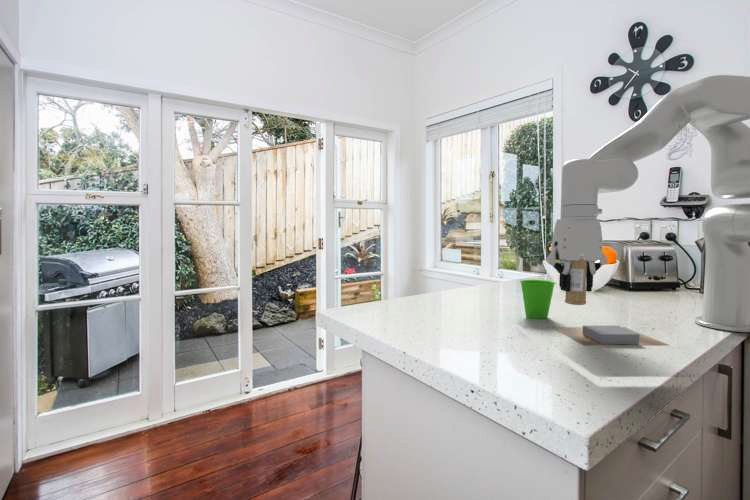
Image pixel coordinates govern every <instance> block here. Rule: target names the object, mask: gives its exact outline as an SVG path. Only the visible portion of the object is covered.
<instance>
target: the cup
mask: <svg viewBox="0 0 750 500" xmlns="http://www.w3.org/2000/svg"><path fill="white" fill-rule="evenodd" d="M519 283H520V284H521V290H522V291H521V292H522V297H523V298H522V299H523V304H524V312H525V313H524V314H525V317H526V318H527V319H528V318H529V319H535V320H546V319H548V317H549V312H550V307H551V302H552V298H553V297H552V296H553V291H554V287H555V285H556V282H555V281H552V280H545V279H521V280H520V281H519Z"/></svg>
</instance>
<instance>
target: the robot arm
mask: <svg viewBox="0 0 750 500" xmlns="http://www.w3.org/2000/svg"><path fill="white" fill-rule="evenodd" d="M748 120H750V76H746V75H745V76H744V75H734V74H733V75H732V74H731V75H730V74H718V75H717V74H715V75H710V76H707V77H704V78H700V79H698V80H696V81H693V82H690V83H687V84H685V85H682V86H679V87H677V88H675V89H673V90H671V91H668V92H667V93H666V94H665V95H664V96H663V97H662V98H660V99H659V101H657V102H656V103H655V105H653V107H651V108H650V110H648V111H647V112H646V113H645V114H644V115H643V116H642V117H641V118H640V119H639V120H638V121H637V122H636V123H635V124H634V125H633V126H631V127H629V128H628V129H627V130H625V131H624V132H622V133H621V134H619V135H618V136H617V137H614V139H612V140H610V141H608V143H606V144H605V145H602V147H600V148H599V149H597V151H595V152H594V153H592V155H590V157H588V158H579V159H577V158H576V159H572V160H571V159H570V160H568V161H566V162H564V163H563V164H562V167H561V185H560V186H561V187H560V189H561V193H560V194H561V195H560V215H559V216H560V218H559V219H556V220H555V224H554V229H553V233H552V239H551V240H552V241H551V250H550V252H549V254H548V255H547V257H546V258H545V262H546V263H548V265H549V264H550V265H551V266H552V267H553V268H554V269H555V270H556V271H557V273H558V274H559V284H558V285H559V287H560V288H559V289H560V290H561V291H564V292H565V293H566V292H569V291H570V277H571V276H570V275H569V274H568V271H569V268H570V264H571V262H575V261H578V260H580V259H583V260H584V261H586V262H587V276H586V278H587V288H586V292H589V293H590V292H592V290H593V289H592V288H593V287H594V286H593V285H594V276H595V275H596V274H597V272H598V270H599V269H601V267H602V266H604V265H605V264H607V263H608V262H609V258H608V257H607V256H606V254H605V252H604V251H603V234H602V226H601V221H600V219H598V215H601V214H602V213H603V209H602V208H599V206H598V198H599V197H598V196H599V194H605V193H606V194H607V193H614V192H615V193H616V192H620V191H625V190H627V189H629V188H631V187H633V185H634V184H635V183H636V182H637V180H638V177H639V169H638V166H637V165H636V164H635V163H634V162H637V161H640V160H642V159H645V158H647V157H649V156H651V155H653V154H656V153H657V152H659V151H662V150H663V149H664V148H665V147H666V146H667V145H668V144H669V143H670V142H671V141H672V140H673V139H674V138H675V137H677V135H678V134H679V133H680V132H681V131H682V130H683V129H684V128H686V127H687V125H690V126H691V127H692V128H694V129H695V130H697V131H698V132H699V133H701V134H702V135H703V136H704V138H705V139H706V140H707V142H708V144H709V147H710V156H711V157H710V158H711V159H710V189H711V192H712V194H713V195H714V196H715V197H716V198H718V199H722V200H736V199H738V200H739V199H740V200H741V199H750V126H748V125H747V124H745V123H744V121H748ZM701 222H702V223H701V228H702V233H703V239H704V243H705V261H704V262H705V264H704V265H705V266H704V280H703V281H704V283H703V300H702V316H701V315H700V316H696V317H695V318H694V323H695V324H697V325H700V326H703V327H706V328H710V329H715V330H721V331H729V332H737V333H738V332H739V333H750V245H749V244H748V243H750V203H735V204H734V203H733V204H732V203H731V204H723V205H719V206H715V207H713V208H711V209H709V210H708V211H707V212H705V214H704V215H703V217H702V221H701ZM581 254H584V256H580V255H581ZM580 257H583V258H580ZM558 261H559V262H558Z"/></svg>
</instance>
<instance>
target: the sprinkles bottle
mask: <svg viewBox="0 0 750 500" xmlns="http://www.w3.org/2000/svg"><path fill="white" fill-rule="evenodd" d="M580 256H584V254H581V255H580ZM580 258H583V257H580ZM568 274H569V275H570V276H571V277H570V291H569V292H566V291H565V299H564V302H565V304H569V305H573V306H584V305H587V301H586V298H587V291H586V288H587V278H586V276H587V262H586V261H584V260H583V259H580V260H578V261H575V262H571V264H570V268H569V271H568Z"/></svg>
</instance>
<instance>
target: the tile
mask: <svg viewBox="0 0 750 500" xmlns="http://www.w3.org/2000/svg"><path fill="white" fill-rule="evenodd" d="M582 327H583V335H585V336H587V337H589V338H591V339H593V340H595V341H597V342H599V343H601V344H639V336H640V334H637V333H635V332H632V331H630V330H627V329H625V328H622V326H620V325H582Z"/></svg>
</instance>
